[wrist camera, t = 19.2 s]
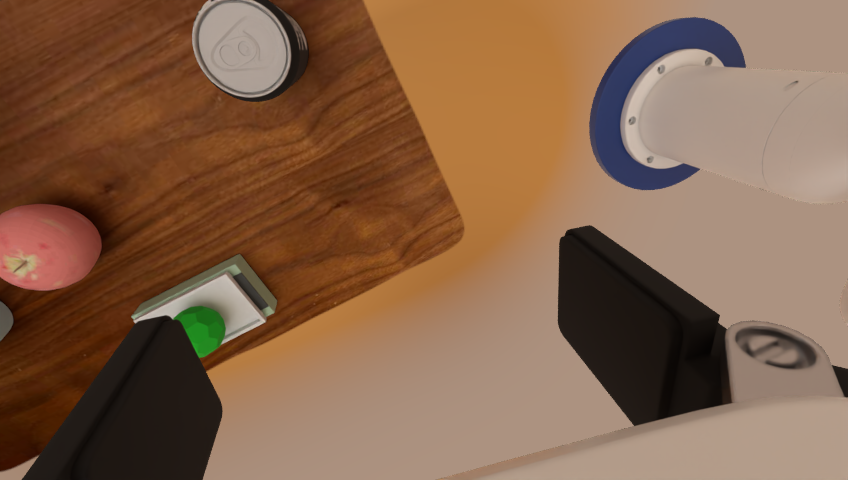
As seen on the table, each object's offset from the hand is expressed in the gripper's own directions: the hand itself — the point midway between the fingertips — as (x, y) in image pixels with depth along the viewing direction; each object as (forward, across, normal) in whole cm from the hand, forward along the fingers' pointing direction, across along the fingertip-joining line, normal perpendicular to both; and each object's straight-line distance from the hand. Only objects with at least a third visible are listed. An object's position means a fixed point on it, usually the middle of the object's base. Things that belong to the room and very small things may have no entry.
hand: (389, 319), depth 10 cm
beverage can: (+34, +6, -7) cm, 35 cm away
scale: (+33, +19, +17) cm, 42 cm away
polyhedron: (+31, +19, +17) cm, 40 cm away
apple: (+34, +28, +6) cm, 44 cm away
